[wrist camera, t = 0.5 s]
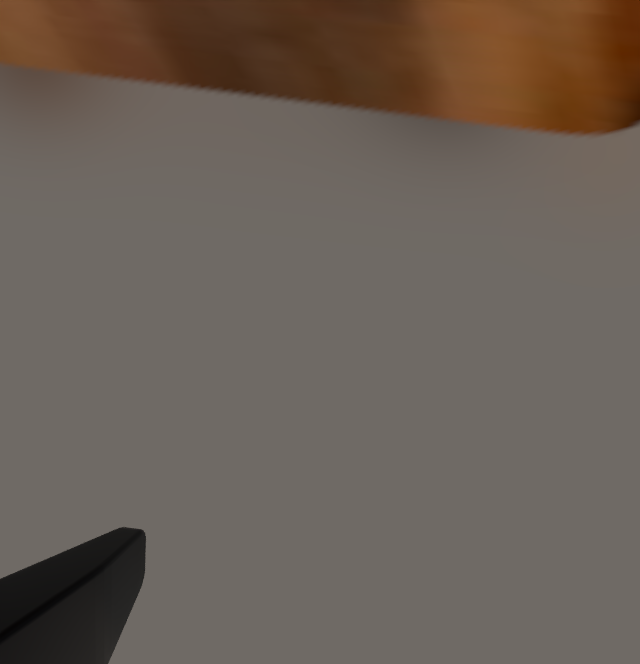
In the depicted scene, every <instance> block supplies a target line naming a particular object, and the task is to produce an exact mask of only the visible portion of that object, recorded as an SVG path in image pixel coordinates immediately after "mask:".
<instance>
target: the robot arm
mask: <svg viewBox="0 0 640 664" xmlns="http://www.w3.org/2000/svg"><path fill="white" fill-rule="evenodd" d="M145 548H146V536H145V532H144V531H143V530H141V529H134V528H126V527H122V528H118V529H116V530H113V531H111V532H109V533H106V534H104V535H102V536H99V537H97V538H95V539H92V540H90V541H88V542H85V543H83V544H81V545H78V546H76V547H74V548H71V549H69V550H67V551H64V552H62V553H60V554H57V555H55V556H53V557H50V558H48V559H46V560H43V561H41V562H38V563H36V564H34V565H32V566H29V567H27V568H25V569H22V570H20V571H17V572H15V573H13V574H10V575H8V576H6V577H3V578H1V579H0V664H108V663H109V660H110V658H111V656H112V653H113V651H114V649H115V646H116V644H117V642H118V640H119V637H120V635H121V632H122V630H123V628H124V625H125V623H126V621H127V619H128V616H129V614H130V612H131V610H132V607H133V605H134V603H135V600H136V598H137V596H138V593H139V591H140V589H141V586H142V583H143V579H144V573H145Z"/></svg>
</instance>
